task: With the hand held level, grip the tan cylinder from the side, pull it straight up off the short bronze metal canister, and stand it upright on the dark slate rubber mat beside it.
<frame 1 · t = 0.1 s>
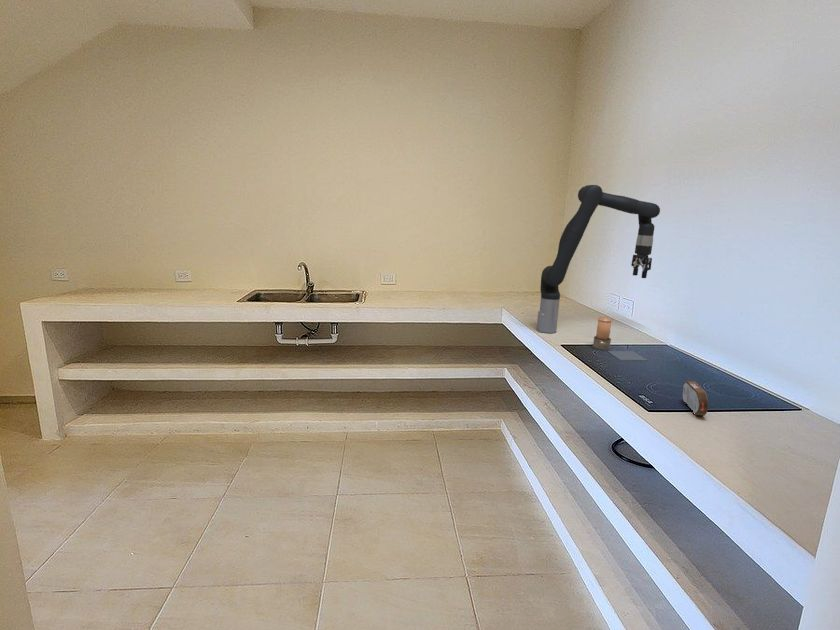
hand: (639, 276, 240), 29 cm above the table, tool pointing down, fingers open, 8 cm apart
tan cylinder: (602, 339, 217), point 4 cm above the table, touching canister
mat: (626, 356, 207), on the table
tin: (691, 410, 155), on the table
canister: (601, 348, 217), on the table
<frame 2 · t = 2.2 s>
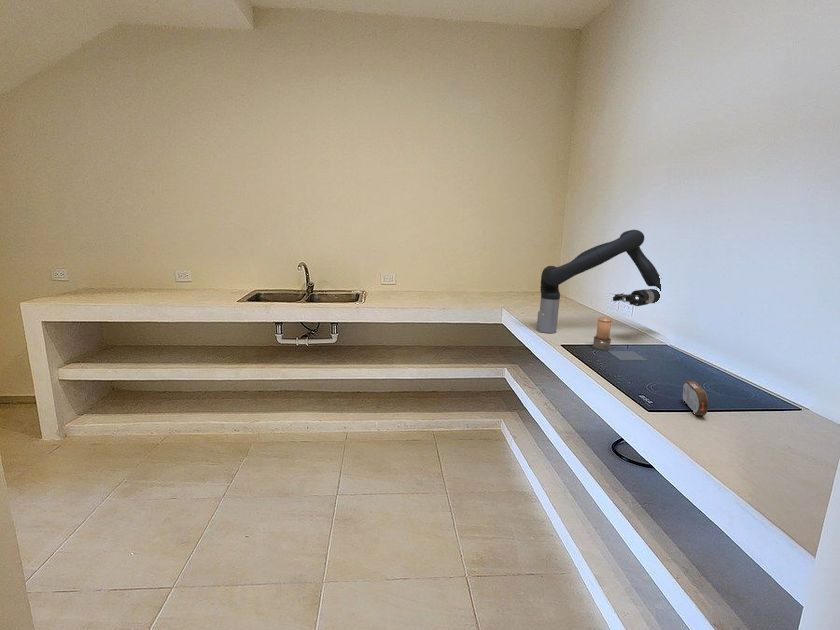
hand: (622, 300, 219), 21 cm above the table, tool horizontal, fingers open, 8 cm apart
nothing on the table moved.
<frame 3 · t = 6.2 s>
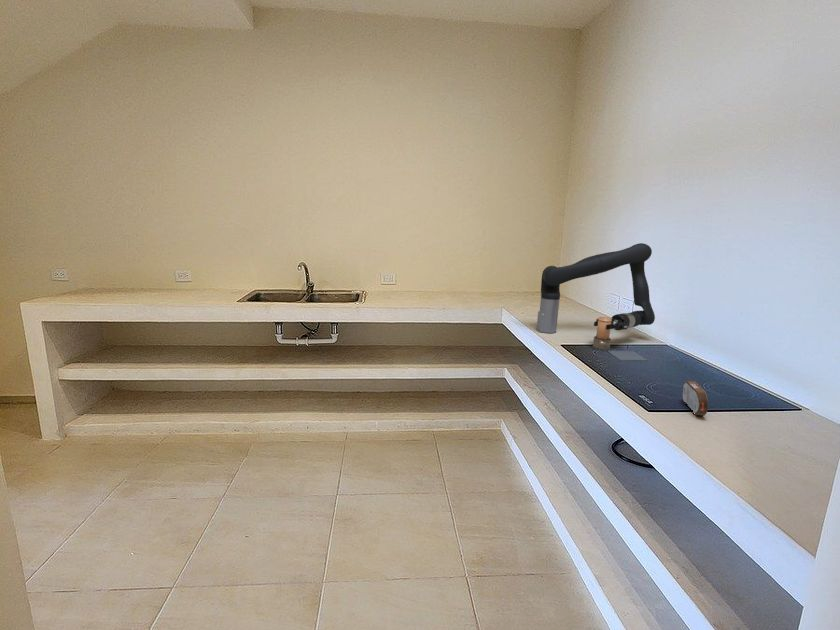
hand: (600, 325, 213), 11 cm above the table, tool horizontal, fingers closed on tan cylinder, 5 cm apart
tan cylinder: (602, 339, 217), point 4 cm above the table, touching canister, gripper
everything else where it was.
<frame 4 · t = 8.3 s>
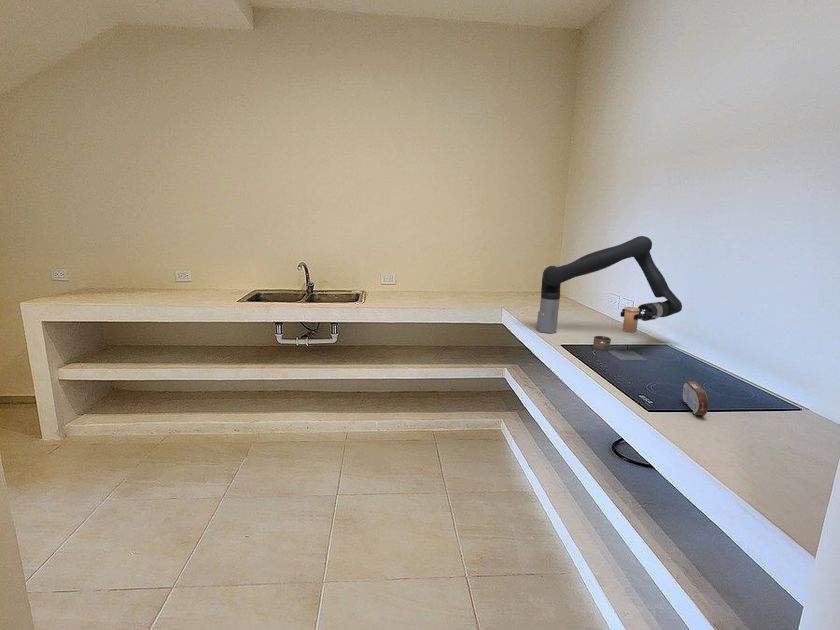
hand: (628, 315, 202), 18 cm above the table, tool horizontal, fingers closed on tan cylinder, 5 cm apart
tan cylinder: (629, 330, 206), point 11 cm above the table, touching gripper
everything else where it was.
when the fingers open (9 cm above the table, at t = 10.7 s): tan cylinder drops 1 cm, resting on mat.
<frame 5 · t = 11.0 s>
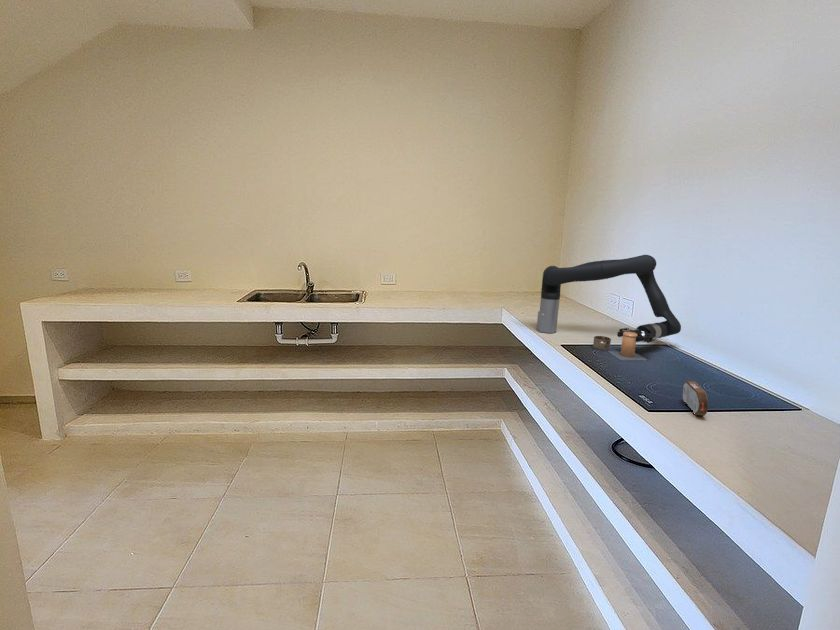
hand: (627, 337, 204), 9 cm above the table, tool horizontal, fingers open, 8 cm apart
tan cylinder: (627, 355, 207), resting on mat
everything else where it was.
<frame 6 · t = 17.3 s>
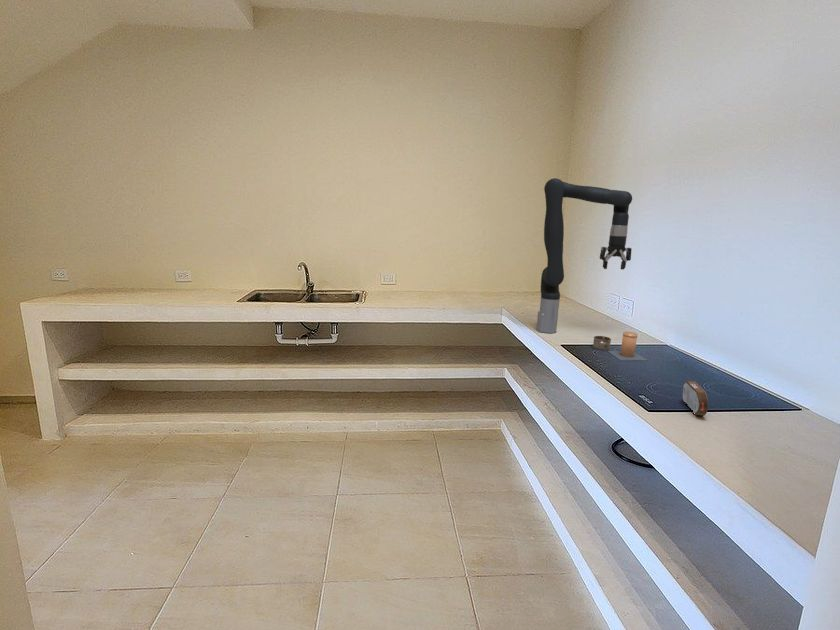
hand: (613, 269, 228), 34 cm above the table, tool pointing down, fingers open, 8 cm apart
nothing on the table moved.
at the end: tan cylinder 0.1 cm off-centre on the mat, point 0.4 cm above the mat's base; tan cylinder tilted 0°; the gripper is holding nothing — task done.
